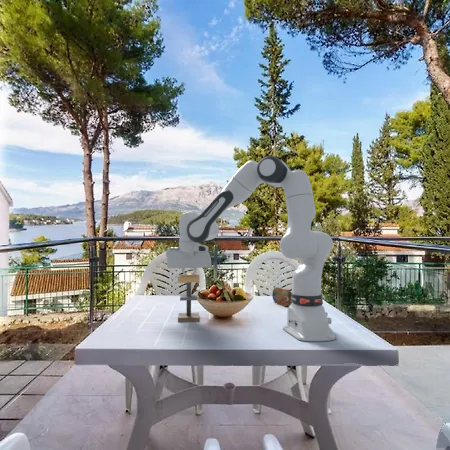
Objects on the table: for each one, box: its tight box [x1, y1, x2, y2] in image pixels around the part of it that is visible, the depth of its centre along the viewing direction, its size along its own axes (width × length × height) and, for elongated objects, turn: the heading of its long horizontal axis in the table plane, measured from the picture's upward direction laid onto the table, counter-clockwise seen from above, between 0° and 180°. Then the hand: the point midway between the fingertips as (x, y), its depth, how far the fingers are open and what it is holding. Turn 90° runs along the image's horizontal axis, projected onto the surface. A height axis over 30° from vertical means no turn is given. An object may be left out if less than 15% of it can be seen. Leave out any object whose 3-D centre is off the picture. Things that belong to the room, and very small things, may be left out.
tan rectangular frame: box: [177, 272, 200, 284], centre depth 169 cm, size 14×9×2 cm, turn 4°
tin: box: [271, 287, 292, 307], centre depth 194 cm, size 15×3×8 cm, turn 25°
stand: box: [177, 283, 200, 323], centre depth 167 cm, size 9×9×18 cm
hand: (189, 277), depth 173 cm, fingers closed on tan rectangular frame, 2 cm apart
